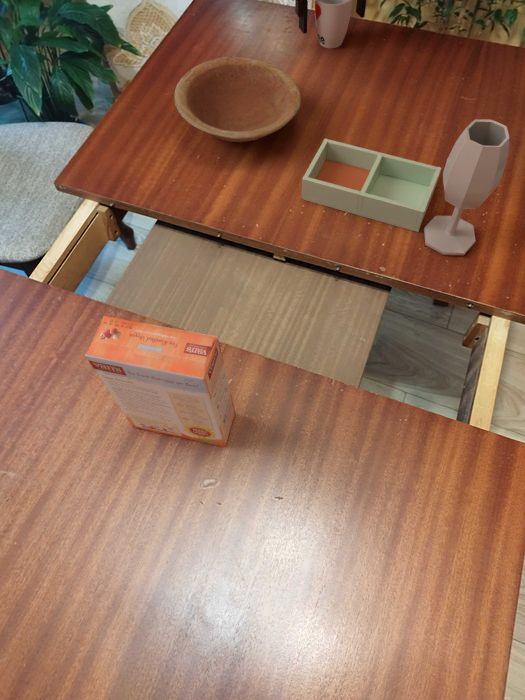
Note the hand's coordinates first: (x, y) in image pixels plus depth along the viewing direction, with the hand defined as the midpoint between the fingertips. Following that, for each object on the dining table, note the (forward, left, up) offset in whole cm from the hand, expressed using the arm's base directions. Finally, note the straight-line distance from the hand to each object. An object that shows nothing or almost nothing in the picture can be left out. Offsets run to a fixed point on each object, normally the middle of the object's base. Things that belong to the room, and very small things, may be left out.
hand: (331, 22), depth 117 cm
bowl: (+7, +33, -4) cm, 34 cm away
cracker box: (-12, +93, -4) cm, 94 cm away
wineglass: (-38, +46, -4) cm, 60 cm away
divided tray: (-23, +42, -4) cm, 47 cm away
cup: (0, 0, -4) cm, 4 cm away
